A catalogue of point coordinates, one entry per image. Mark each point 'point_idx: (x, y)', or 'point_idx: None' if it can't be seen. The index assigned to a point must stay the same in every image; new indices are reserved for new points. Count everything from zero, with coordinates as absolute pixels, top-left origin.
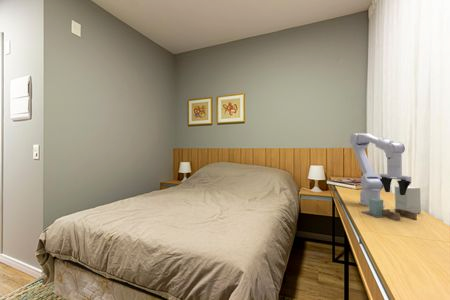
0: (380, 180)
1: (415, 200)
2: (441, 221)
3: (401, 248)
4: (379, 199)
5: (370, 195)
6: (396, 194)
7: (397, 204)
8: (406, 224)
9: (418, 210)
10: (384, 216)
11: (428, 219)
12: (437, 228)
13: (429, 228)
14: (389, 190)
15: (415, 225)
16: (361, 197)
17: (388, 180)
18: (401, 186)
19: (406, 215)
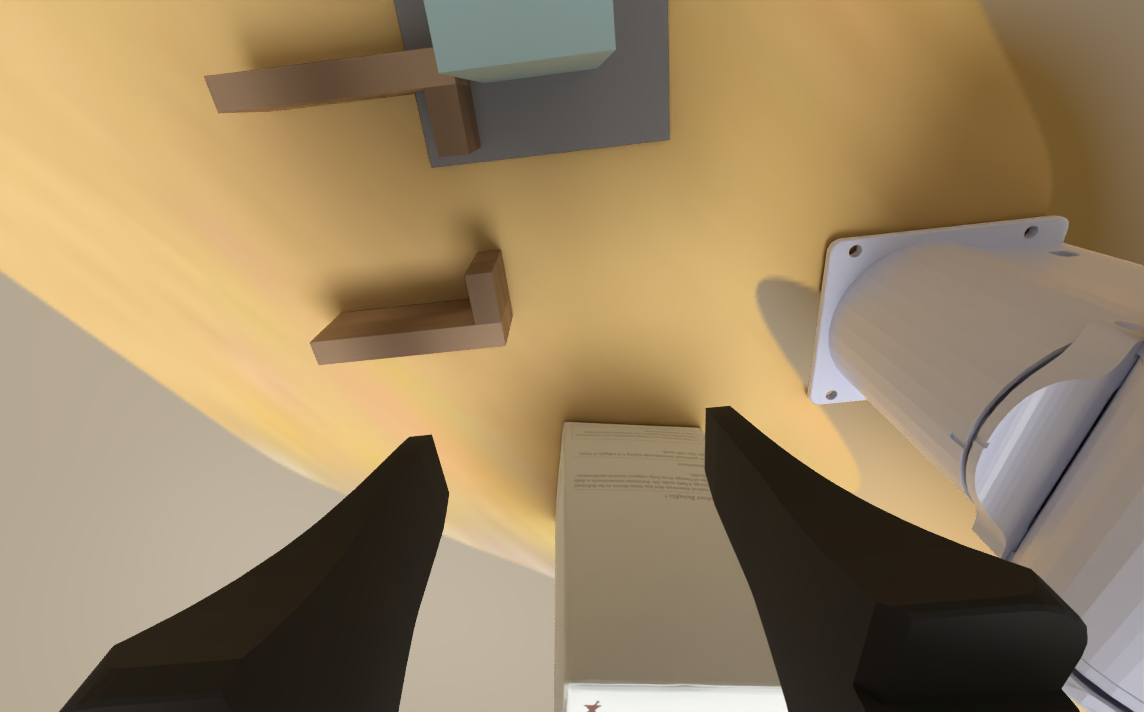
0: (983, 556)
1: (555, 592)
2: (322, 475)
3: None
4: (503, 39)
5: (988, 310)
6: (732, 560)
7: (684, 463)
8: (124, 58)
9: (555, 525)
10: (398, 18)
11: (368, 431)
12: (79, 278)
13: (47, 201)
14: (714, 487)
15: (115, 140)
16: (1118, 267)
17: (817, 705)
18: (277, 558)
19: (417, 310)
